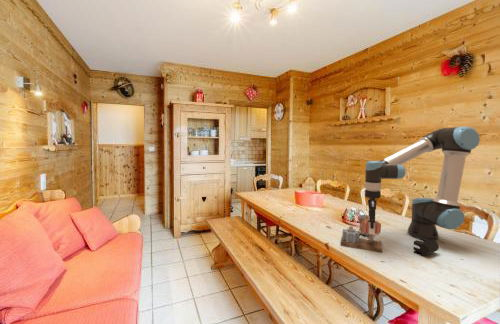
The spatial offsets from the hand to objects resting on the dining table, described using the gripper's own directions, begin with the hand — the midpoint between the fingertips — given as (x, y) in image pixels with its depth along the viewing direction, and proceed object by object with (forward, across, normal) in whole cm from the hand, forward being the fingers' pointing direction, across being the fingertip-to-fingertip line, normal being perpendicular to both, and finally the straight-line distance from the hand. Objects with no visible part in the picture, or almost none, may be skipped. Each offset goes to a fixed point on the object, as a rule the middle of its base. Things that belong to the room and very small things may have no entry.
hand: (371, 230), depth 126 cm
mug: (+9, -20, -3) cm, 22 cm away
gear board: (+9, 0, -5) cm, 10 cm away
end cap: (+9, -3, +25) cm, 27 cm away
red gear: (0, 0, 0) cm, 0 cm away
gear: (+7, 0, -10) cm, 12 cm away
